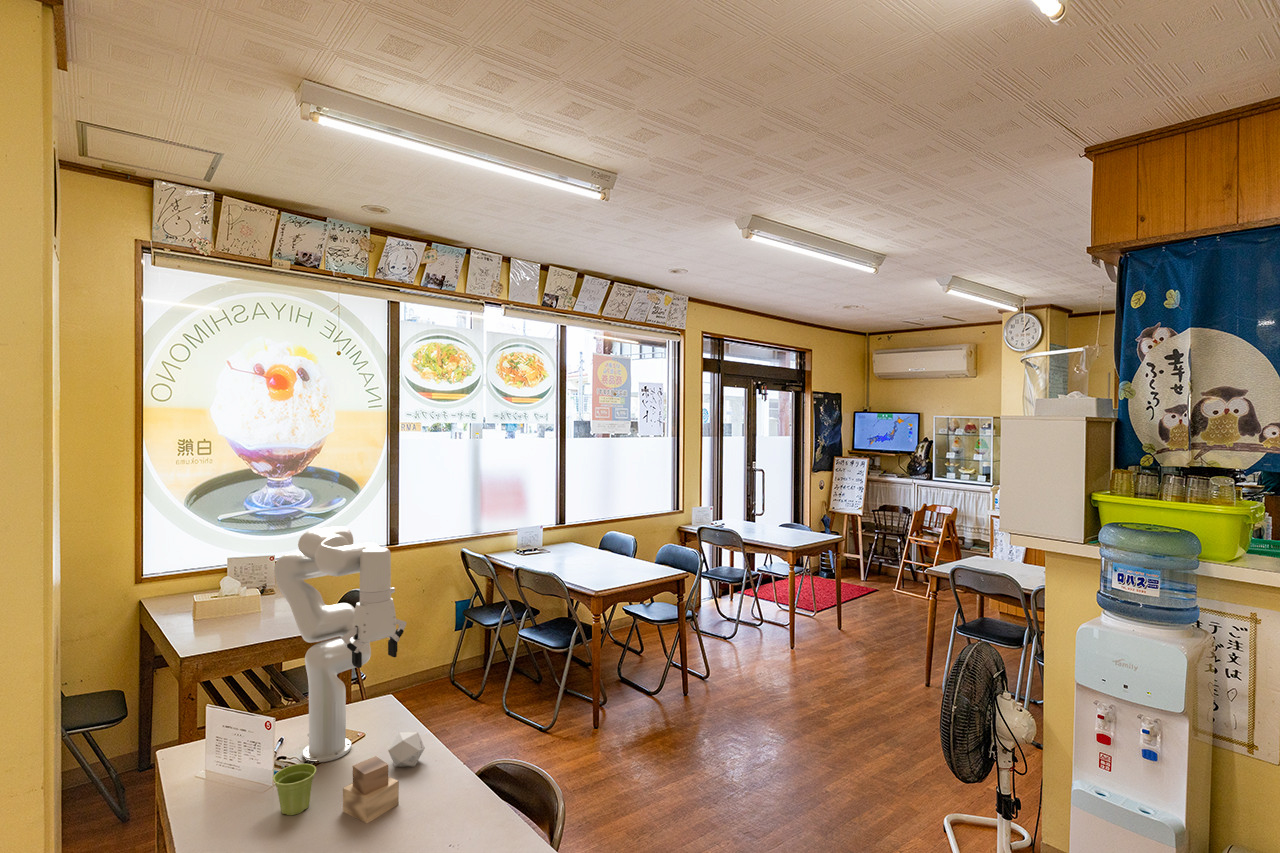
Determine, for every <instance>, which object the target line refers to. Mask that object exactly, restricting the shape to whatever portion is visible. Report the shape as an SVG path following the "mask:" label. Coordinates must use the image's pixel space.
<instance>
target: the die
mask: <svg viewBox="0 0 1280 853" xmlns="http://www.w3.org/2000/svg"><path fill="white" fill-rule="evenodd" d="M425 748H426V747H425V745H424V743H423V740H422V738H421V736H420V734H419V732H417V731H416V732H415V731H414V732H412V731H411V732H408V731H407V732H406V731H405V732H403V731H402V732H401V731H400V732H398V733H397V735H396V737H395V738H394V740H393V741H392V743H391V745H390V746H389V748H388V751H387V752H388V753H389V756H390V759H391V761H392V762H393V764H394V766H395V767H416V765H417V763H418V761H419V759H420V758H421V756H422V754H423V753H424V751H425Z"/></svg>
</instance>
